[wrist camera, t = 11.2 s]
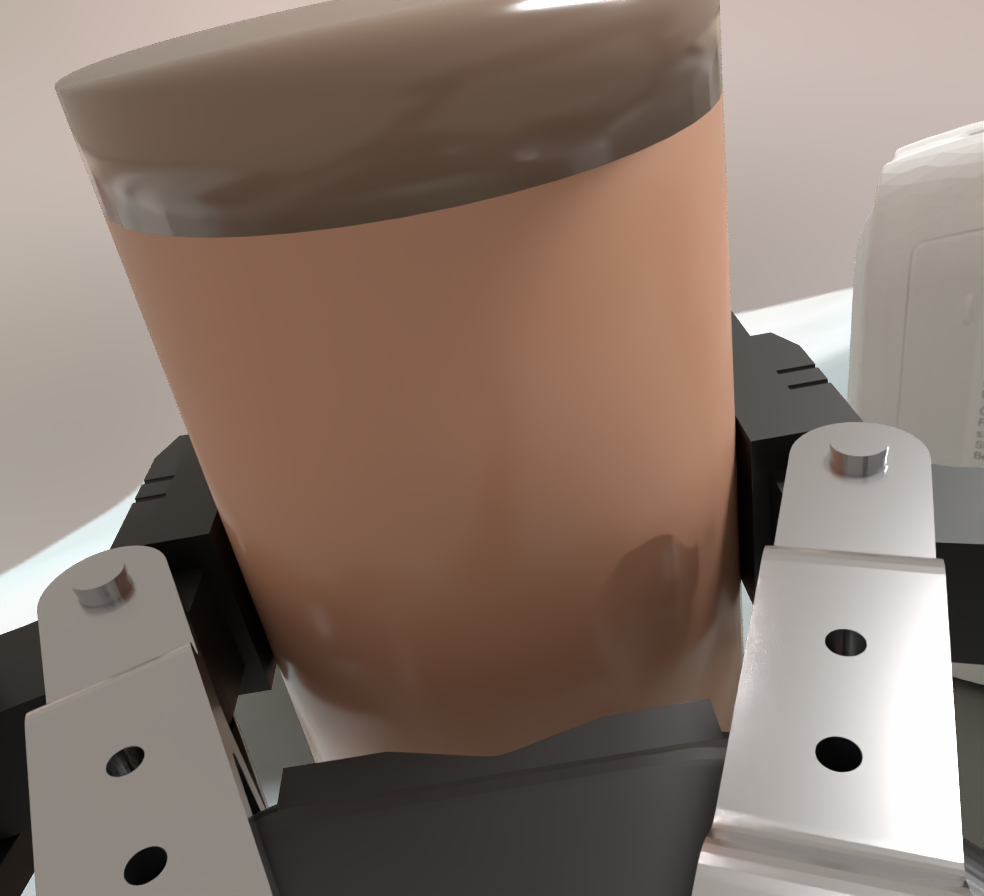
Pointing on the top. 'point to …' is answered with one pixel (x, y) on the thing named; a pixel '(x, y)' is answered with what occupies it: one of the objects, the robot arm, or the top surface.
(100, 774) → the robot arm
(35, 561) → the top surface
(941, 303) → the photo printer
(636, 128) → the canister
